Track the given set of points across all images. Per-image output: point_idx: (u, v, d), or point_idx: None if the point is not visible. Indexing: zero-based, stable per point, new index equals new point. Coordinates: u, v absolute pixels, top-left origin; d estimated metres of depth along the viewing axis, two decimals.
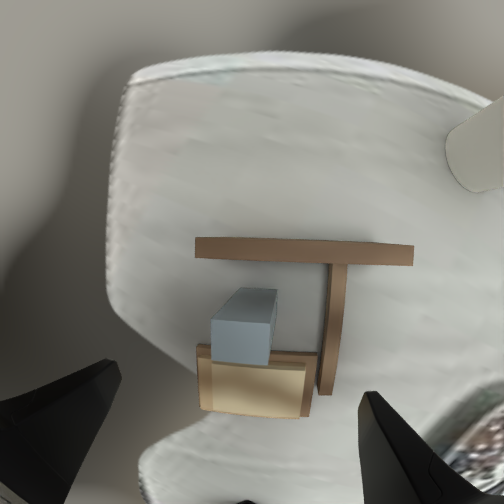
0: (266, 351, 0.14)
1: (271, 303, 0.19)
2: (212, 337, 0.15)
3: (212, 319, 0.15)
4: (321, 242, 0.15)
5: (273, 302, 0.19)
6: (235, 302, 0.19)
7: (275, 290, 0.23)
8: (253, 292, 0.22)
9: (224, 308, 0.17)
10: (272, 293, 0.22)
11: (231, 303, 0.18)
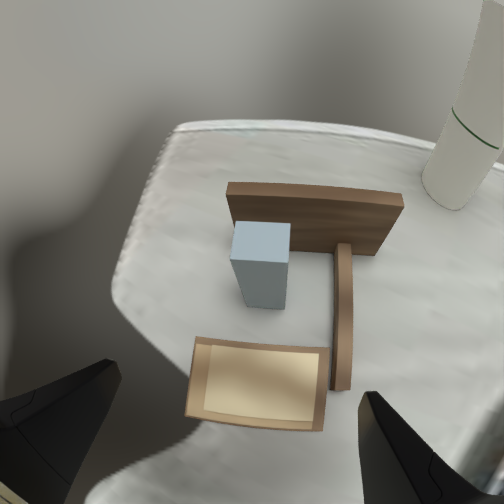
0: (287, 248, 0.15)
1: None
2: (234, 236, 0.16)
3: (237, 221, 0.16)
4: (328, 186, 0.19)
5: None
6: None
7: None
8: None
9: None
10: None
11: None
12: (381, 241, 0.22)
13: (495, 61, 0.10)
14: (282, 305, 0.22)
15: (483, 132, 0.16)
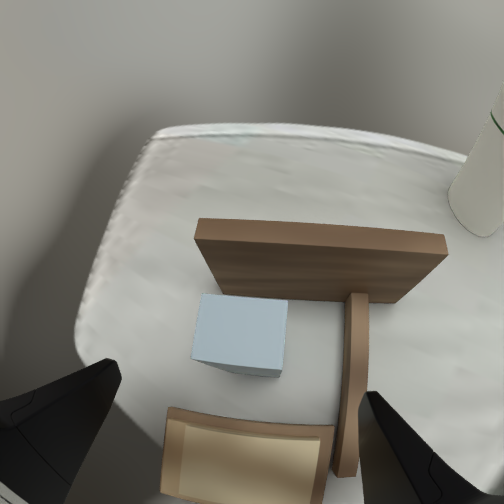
0: (281, 344, 0.09)
1: None
2: (199, 320, 0.10)
3: (204, 294, 0.10)
4: (345, 226, 0.13)
5: None
6: None
7: None
8: None
9: None
10: None
11: None
12: (408, 290, 0.16)
13: None
14: (276, 376, 0.16)
15: None
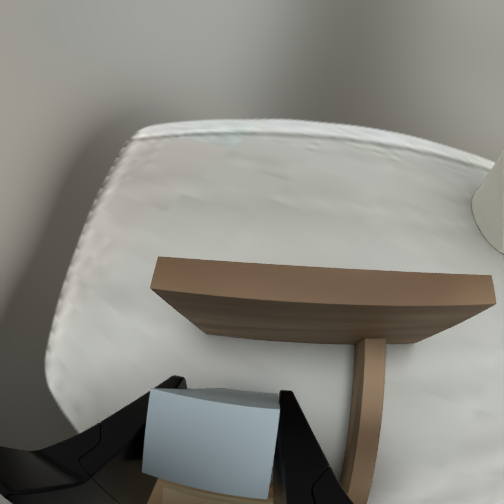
0: (266, 470, 0.05)
1: (273, 398, 0.09)
2: (149, 427, 0.05)
3: (154, 389, 0.06)
4: (369, 271, 0.08)
5: (276, 398, 0.10)
6: (210, 391, 0.09)
7: (275, 394, 0.14)
8: (241, 392, 0.13)
9: (187, 390, 0.08)
10: None
11: (202, 390, 0.09)
12: (434, 333, 0.12)
13: None
14: None
15: None
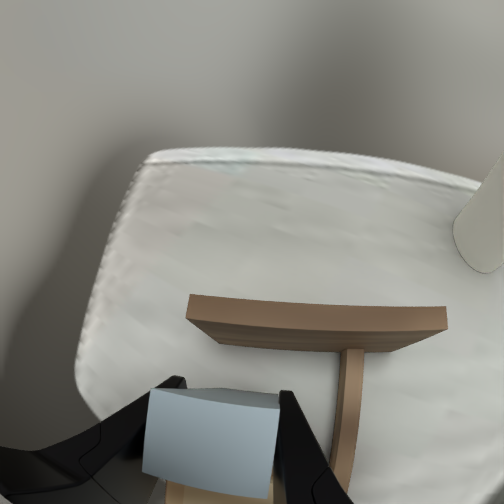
0: (266, 470, 0.05)
1: (273, 398, 0.09)
2: (149, 426, 0.05)
3: (154, 389, 0.06)
4: (343, 306, 0.12)
5: (276, 398, 0.10)
6: (210, 391, 0.10)
7: (275, 394, 0.14)
8: (241, 391, 0.13)
9: (187, 389, 0.08)
10: None
11: (202, 390, 0.09)
12: (404, 346, 0.15)
13: None
14: None
15: None
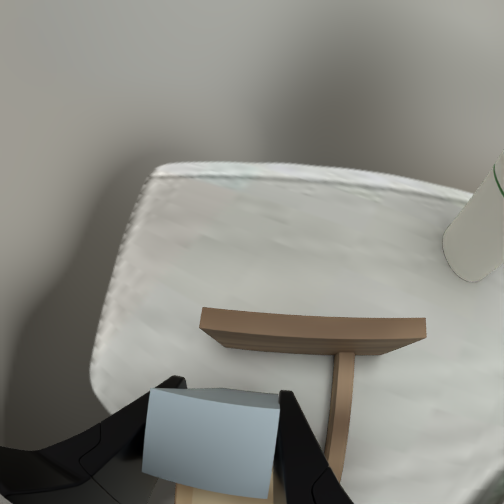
0: (266, 470, 0.05)
1: (273, 398, 0.09)
2: (149, 426, 0.05)
3: (154, 389, 0.06)
4: (333, 318, 0.14)
5: (276, 398, 0.10)
6: (210, 391, 0.09)
7: (275, 394, 0.14)
8: (241, 391, 0.13)
9: (187, 389, 0.08)
10: None
11: (202, 390, 0.09)
12: (391, 350, 0.17)
13: None
14: None
15: None
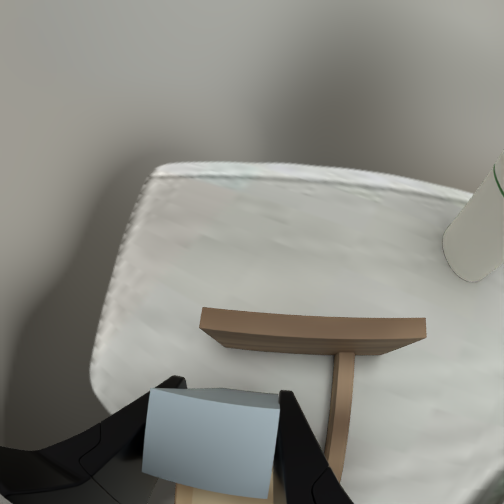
0: (266, 470, 0.05)
1: (273, 398, 0.09)
2: (149, 426, 0.05)
3: (154, 389, 0.06)
4: (333, 318, 0.14)
5: (276, 398, 0.10)
6: (210, 391, 0.09)
7: (275, 394, 0.14)
8: (241, 391, 0.13)
9: (187, 389, 0.08)
10: None
11: (202, 390, 0.09)
12: (391, 350, 0.17)
13: None
14: None
15: None
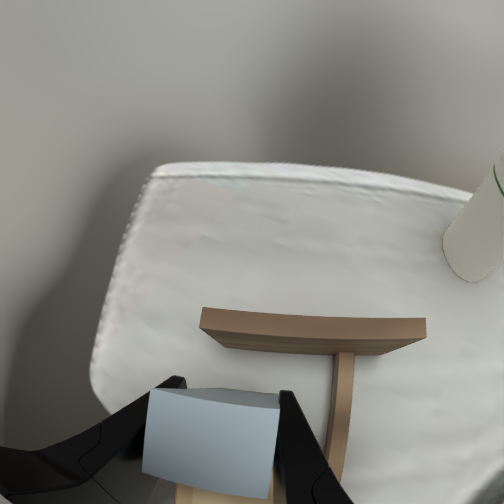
0: (266, 470, 0.05)
1: (273, 398, 0.09)
2: (149, 426, 0.05)
3: (154, 389, 0.06)
4: (333, 318, 0.14)
5: (276, 398, 0.10)
6: (210, 391, 0.09)
7: (275, 394, 0.14)
8: (241, 391, 0.13)
9: (187, 389, 0.08)
10: None
11: (202, 390, 0.09)
12: (391, 350, 0.17)
13: None
14: None
15: None
